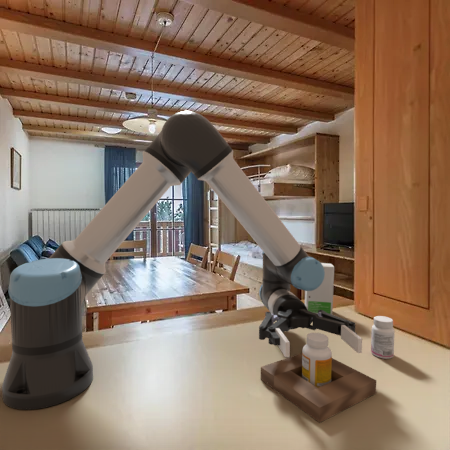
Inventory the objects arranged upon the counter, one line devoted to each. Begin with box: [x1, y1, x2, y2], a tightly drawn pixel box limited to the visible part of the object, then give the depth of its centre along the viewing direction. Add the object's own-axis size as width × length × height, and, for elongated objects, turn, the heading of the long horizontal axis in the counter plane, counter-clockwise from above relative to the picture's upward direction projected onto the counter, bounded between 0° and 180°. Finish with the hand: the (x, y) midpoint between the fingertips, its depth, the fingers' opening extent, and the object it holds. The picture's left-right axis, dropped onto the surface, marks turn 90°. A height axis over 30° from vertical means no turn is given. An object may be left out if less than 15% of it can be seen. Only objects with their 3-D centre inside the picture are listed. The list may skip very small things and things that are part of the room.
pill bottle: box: [370, 315, 395, 360], centre depth 75 cm, size 5×5×8 cm
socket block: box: [260, 352, 377, 423], centre depth 62 cm, size 15×15×2 cm
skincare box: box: [304, 262, 335, 315], centre depth 103 cm, size 8×7×16 cm
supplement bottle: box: [301, 332, 333, 388], centre depth 62 cm, size 5×5×10 cm
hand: (324, 347), depth 58 cm, fingers open, 13 cm apart
